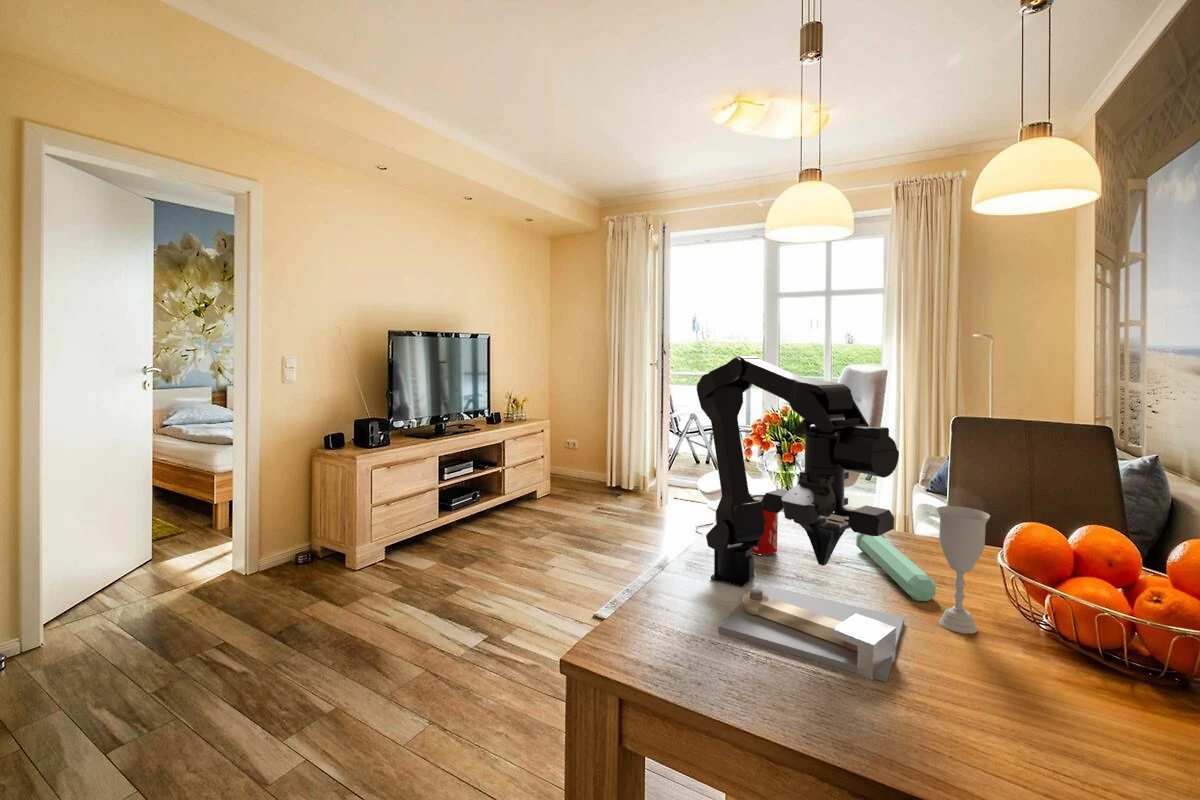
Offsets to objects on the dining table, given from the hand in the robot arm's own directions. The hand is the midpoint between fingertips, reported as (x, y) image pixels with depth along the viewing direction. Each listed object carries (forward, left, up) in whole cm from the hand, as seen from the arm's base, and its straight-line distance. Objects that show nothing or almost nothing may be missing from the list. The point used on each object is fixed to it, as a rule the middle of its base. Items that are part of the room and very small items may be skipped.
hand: (822, 564), depth 85 cm
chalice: (+18, +12, -10) cm, 24 cm away
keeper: (+7, -7, -10) cm, 14 cm away
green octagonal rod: (+7, +29, -10) cm, 31 cm away
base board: (-1, -1, -10) cm, 10 cm away
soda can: (-18, +27, -10) cm, 34 cm away
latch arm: (-2, -4, -9) cm, 10 cm away
